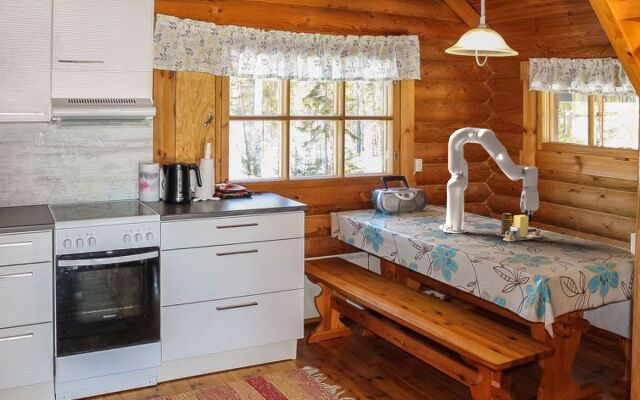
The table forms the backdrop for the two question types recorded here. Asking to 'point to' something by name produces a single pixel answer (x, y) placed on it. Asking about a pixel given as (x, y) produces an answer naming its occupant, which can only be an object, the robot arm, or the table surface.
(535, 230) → the cord rig
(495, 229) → the table surface
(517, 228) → the grey slab
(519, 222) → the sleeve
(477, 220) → the table surface
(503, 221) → the condiment
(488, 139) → the robot arm
